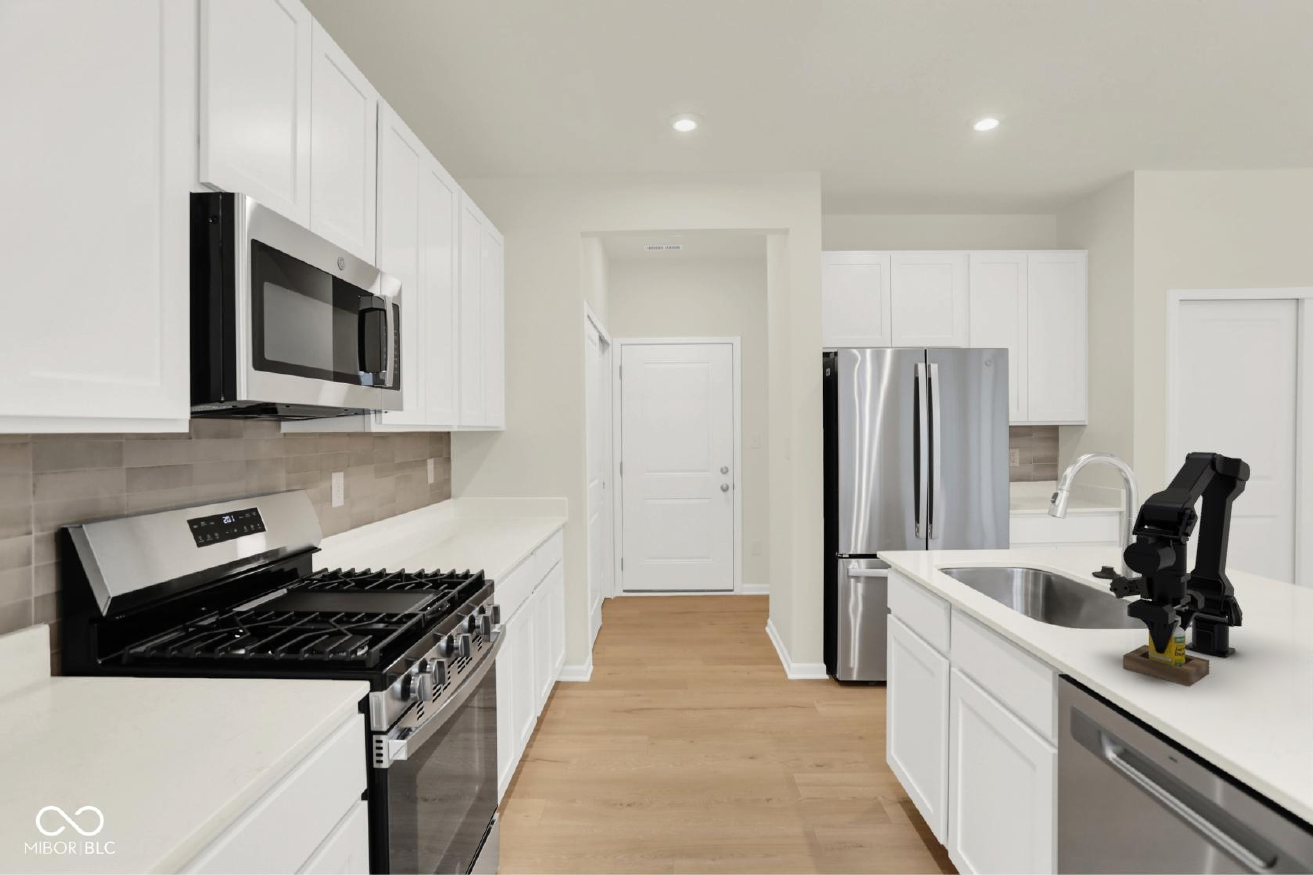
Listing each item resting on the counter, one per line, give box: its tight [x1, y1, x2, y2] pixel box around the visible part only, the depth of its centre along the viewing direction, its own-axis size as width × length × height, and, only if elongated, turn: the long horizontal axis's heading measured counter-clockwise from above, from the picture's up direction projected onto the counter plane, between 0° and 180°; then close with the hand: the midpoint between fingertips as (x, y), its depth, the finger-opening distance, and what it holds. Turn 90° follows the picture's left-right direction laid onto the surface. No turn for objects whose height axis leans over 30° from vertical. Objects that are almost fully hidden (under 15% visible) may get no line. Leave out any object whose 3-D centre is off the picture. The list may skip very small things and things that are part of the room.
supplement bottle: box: [1148, 615, 1186, 667], centre depth 119 cm, size 5×5×10 cm
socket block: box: [1122, 644, 1210, 687], centre depth 119 cm, size 10×10×2 cm
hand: (1166, 649), depth 119 cm, fingers closed on supplement bottle, 5 cm apart
